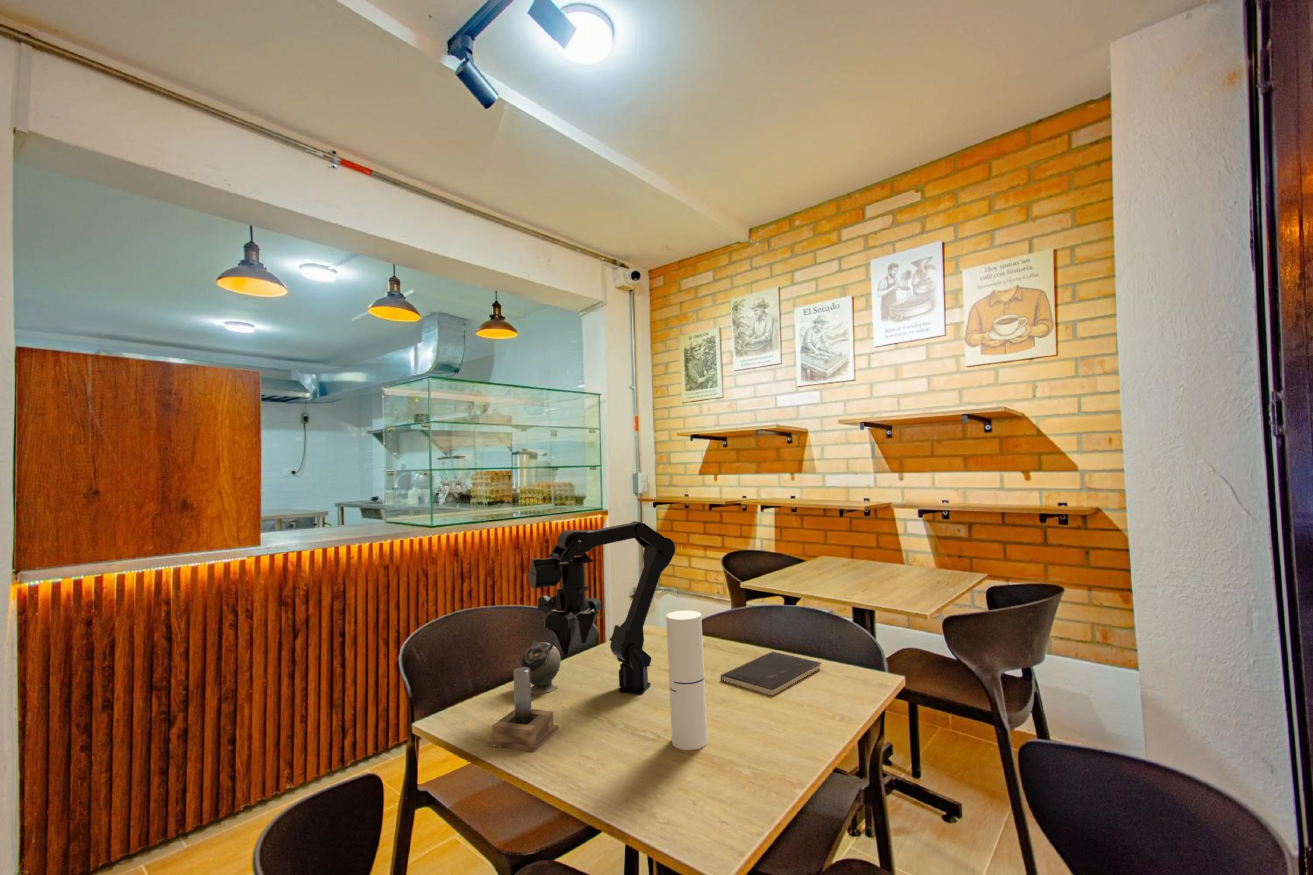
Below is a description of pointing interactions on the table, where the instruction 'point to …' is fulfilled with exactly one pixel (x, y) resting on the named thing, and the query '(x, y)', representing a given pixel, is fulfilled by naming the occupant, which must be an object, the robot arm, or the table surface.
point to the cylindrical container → (686, 680)
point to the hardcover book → (771, 672)
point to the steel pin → (522, 695)
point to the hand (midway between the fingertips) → (575, 648)
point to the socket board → (523, 731)
